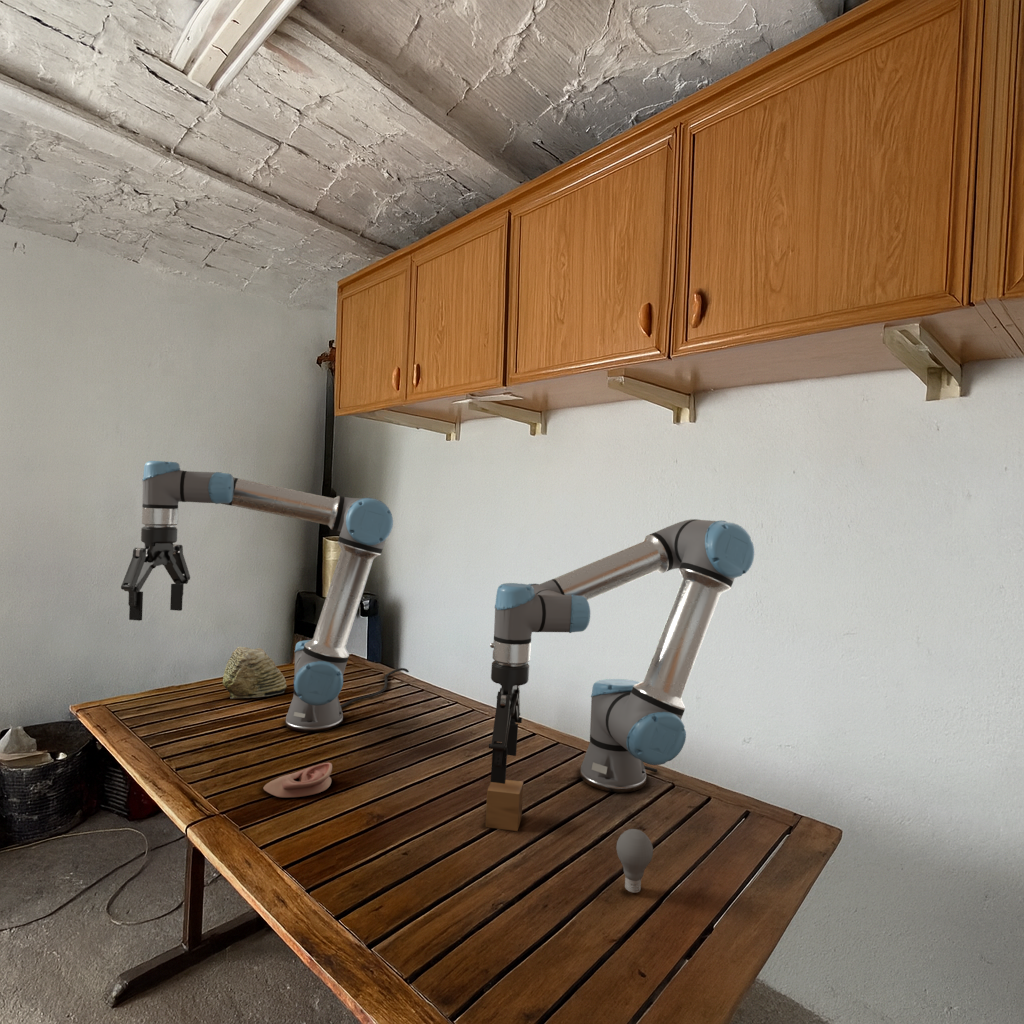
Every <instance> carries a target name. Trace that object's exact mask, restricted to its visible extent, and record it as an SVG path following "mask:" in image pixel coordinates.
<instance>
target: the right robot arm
mask: <svg viewBox="0 0 1024 1024" xmlns="http://www.w3.org/2000/svg"><path fill="white" fill-rule="evenodd" d="M754 559H755V546H754V542H753V540H752V538H751V535H750V534H749V532H748V531H747V530H746V528H744V527H743V526H741V525H739V524H737V523H735V522H730V521H726V520H710V519H709V520H708V519H698V518H697V519H696V518H695V519H694V518H693V519H692V518H690V519H685V520H681V521H679V522H676V523H674V524H673V523H672V524H671V525H669V526H666V527H664V528H662V529H659V530H657V531H654V532H652V533H650V534H647V535H645V537H644V539H643V541H641V542H638V543H636V544H634V545H631V546H630V547H627V548H624V549H622V550H620V551H617V552H614V553H612V554H610V555H608V556H605V557H603V558H600V559H597V560H596V561H593V562H591V563H588V564H586V565H584V566H580V567H578V568H576V569H574V570H571V571H568V572H566V573H564V574H561V575H559V576H557V577H555V578H552V579H549V580H547V581H543V582H542V583H528V584H527V583H518V582H517V583H516V582H506V583H502V584H500V585H498V587H497V589H496V590H497V591H496V595H495V604H494V627H493V628H494V629H493V642H491V643H490V645H489V647H490V648H491V649H493V650H492V659H493V661H492V662H491V670H490V679H491V681H492V682H493V683H495V684H498V685H500V688H499V691H497V695H496V707H495V715H494V722H493V729H492V738H491V743H488V749H491V750H492V754H491V770H490V771H491V772H490V783H491V782H495V783H502V784H505V780H507V765H508V764H507V763H508V756H512V757H516V756H517V749H518V748H517V747H518V736H519V735H518V733H519V724H522V722H523V717H520V716H521V700H520V699H521V689H520V688H521V686H524V685H526V684H527V683H528V682H529V678H530V665H529V662H530V661H531V654H532V653H531V652H532V651H531V650H532V634H533V633H569V634H571V633H582V632H584V631H585V630H587V629H588V627H589V625H590V622H591V606H590V603H589V600H592V599H595V598H597V597H598V596H601V595H603V594H604V595H605V594H606V593H608V592H611V591H613V590H616V589H618V588H621V587H622V586H625V585H627V584H630V583H632V582H634V581H636V580H639V579H641V578H644V577H645V576H648V575H651V574H653V573H656V572H658V573H659V574H664V573H666V572H669V571H671V570H676V569H677V570H678V571H679V574H680V576H681V583H680V584H679V587H678V590H677V593H676V595H675V598H674V601H673V603H672V606H671V609H670V610H669V613H668V616H667V618H666V621H665V623H664V626H663V629H662V631H661V634H660V637H659V638H658V642H657V644H656V647H655V650H654V652H653V655H652V657H651V660H650V662H649V665H648V667H647V670H646V673H645V675H644V678H643V680H642V681H637V680H633V679H627V678H626V679H625V678H605V679H599V680H596V681H595V682H594V683H593V684H592V689H591V695H590V698H591V701H590V702H591V704H590V728H589V744H588V746H587V749H586V751H585V755H584V756H583V757H584V758H583V761H582V762H581V766H580V773H579V774H580V778H581V780H582V781H583V782H584V783H586V784H587V785H589V786H591V787H592V788H595V789H597V790H601V791H606V792H610V793H611V792H612V793H631V792H636V791H639V790H640V789H641V790H642V789H643V788H644V787H645V786H646V784H647V771H649V772H653V773H658V769H657V768H654V767H650V766H660V765H665V764H666V763H668V762H670V761H672V760H674V759H675V758H676V757H677V756H678V755H679V754H680V753H681V752H682V750H683V748H684V745H685V743H686V739H687V731H686V730H685V724H684V722H683V721H682V718H683V716H684V713H685V710H686V706H685V704H684V701H683V695H684V691H685V689H686V687H687V685H688V681H689V679H690V676H691V674H692V671H693V668H694V666H695V663H696V660H697V658H698V655H699V653H700V650H701V647H702V644H703V642H704V639H705V637H706V634H707V631H708V629H709V626H710V623H711V620H712V618H713V615H714V613H715V610H716V608H717V605H718V602H719V600H720V597H721V595H722V594H723V593H725V592H728V591H730V590H731V589H732V587H733V584H734V582H735V580H736V578H739V577H742V576H743V575H744V574H746V573H748V571H749V570H750V569H751V567H752V565H753V563H754ZM645 764H646V765H645ZM648 765H650V766H648Z"/></svg>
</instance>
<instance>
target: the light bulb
mask: <svg viewBox="0 0 1024 1024" xmlns="http://www.w3.org/2000/svg"><path fill="white" fill-rule="evenodd" d="M615 849H616V854H617V857H618V859H619V861H620V863H621V865H622V867H623V873H624V874H623V875H624V876H625V878H624V888H625V890H627V891H628V892H630V893H634V894H635V893H639V892H640V891H641V889H642V887H641V886H642V879H643V877H644V875H645V871H646V868H647V867H648V866H649V864H650V863H651V861H652V859H653V855H654V847H653V843H652V841H651V838H649V836H648V835H647V834H646V833H645V832H643V831H642V830H641V829H636V828H629V829H627V830H625V831H623V832H622V833H621V834H620V835H619V837H618V839H617V841H616V847H615Z"/></svg>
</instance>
